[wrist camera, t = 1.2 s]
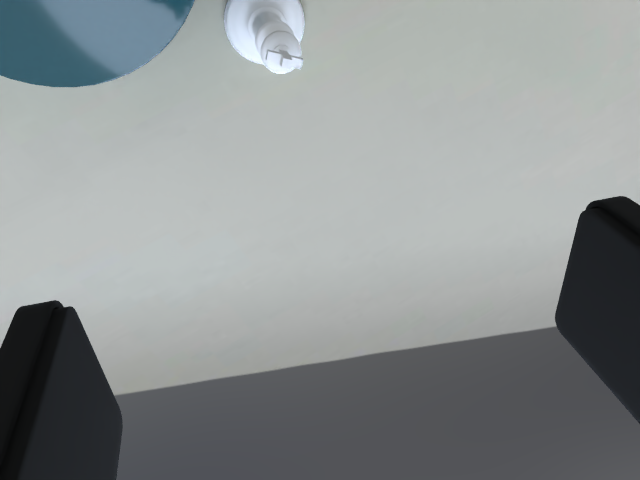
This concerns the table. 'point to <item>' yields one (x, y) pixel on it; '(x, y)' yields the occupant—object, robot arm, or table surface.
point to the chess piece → (267, 32)
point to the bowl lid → (84, 38)
